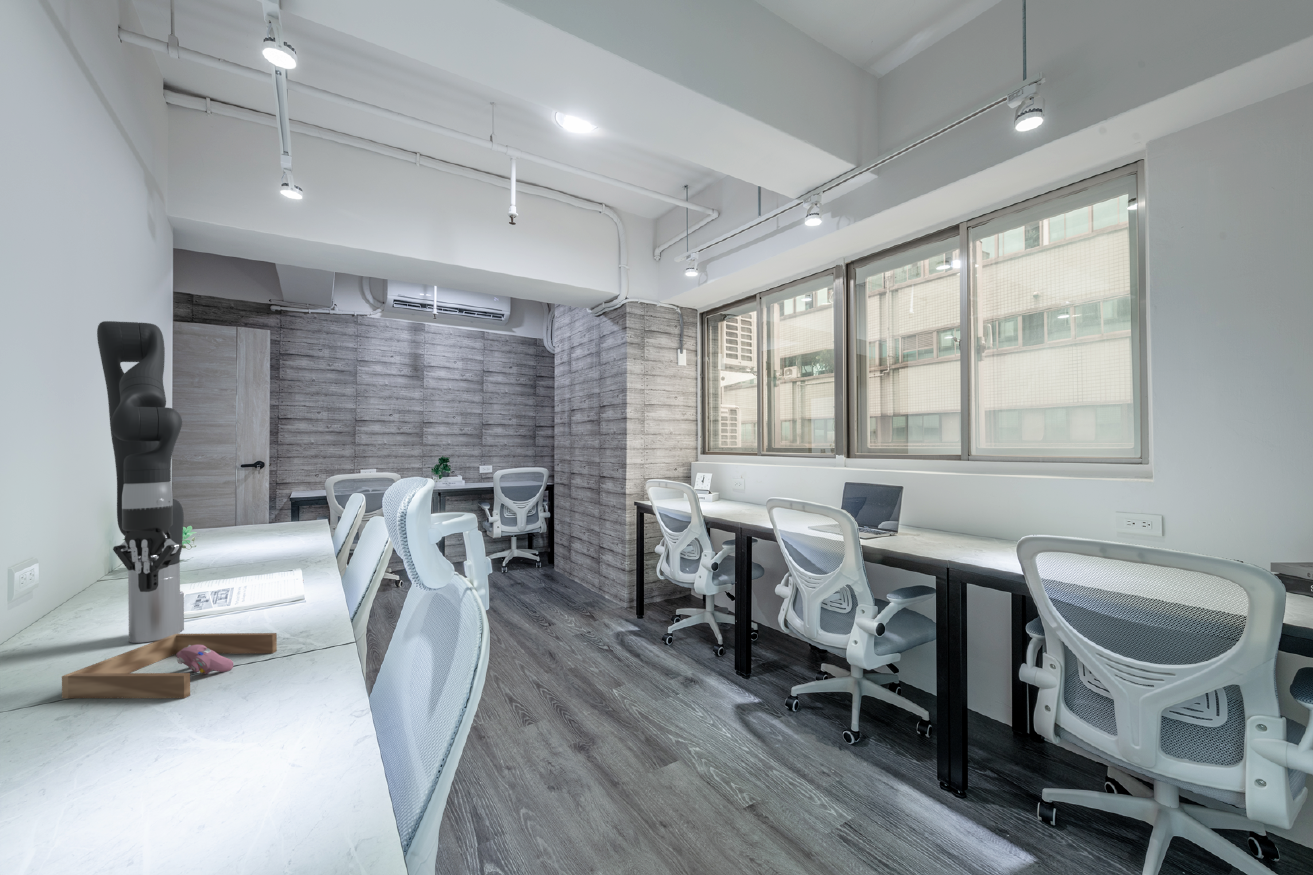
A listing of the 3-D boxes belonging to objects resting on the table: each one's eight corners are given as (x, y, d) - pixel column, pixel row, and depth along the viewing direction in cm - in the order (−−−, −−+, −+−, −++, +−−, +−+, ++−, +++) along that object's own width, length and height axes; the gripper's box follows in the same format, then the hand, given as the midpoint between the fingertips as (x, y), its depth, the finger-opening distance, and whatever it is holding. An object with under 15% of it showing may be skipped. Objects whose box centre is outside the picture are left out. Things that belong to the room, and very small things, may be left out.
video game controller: (185, 677, 111) (166, 652, 108) (207, 660, 115) (190, 635, 112) (215, 684, 107) (196, 658, 105) (237, 666, 111) (220, 640, 108)
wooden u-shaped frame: (176, 651, 121) (176, 633, 122) (276, 651, 120) (276, 633, 120) (61, 698, 99) (61, 676, 99) (184, 698, 98) (184, 675, 98)
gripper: (195, 502, 114) (196, 586, 114) (135, 503, 115) (135, 586, 114) (161, 506, 107) (161, 595, 106) (97, 507, 107) (97, 596, 107)
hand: (148, 590), depth 110 cm, fingers closed
